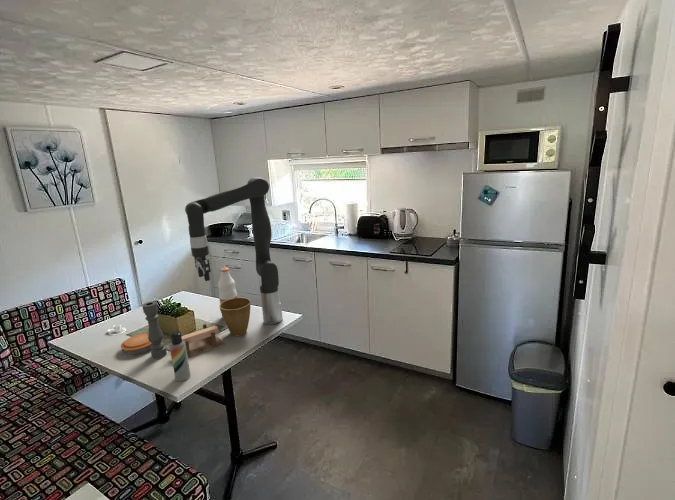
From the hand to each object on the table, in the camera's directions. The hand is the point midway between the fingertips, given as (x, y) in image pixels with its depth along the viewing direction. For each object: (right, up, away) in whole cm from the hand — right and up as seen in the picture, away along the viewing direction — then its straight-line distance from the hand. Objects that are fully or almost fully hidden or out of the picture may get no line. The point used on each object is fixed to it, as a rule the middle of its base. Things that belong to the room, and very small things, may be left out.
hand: (204, 278), depth 171 cm
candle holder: (-17, -34, -8) cm, 39 cm away
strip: (-1, -27, -5) cm, 28 cm away
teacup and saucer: (-54, -29, +21) cm, 65 cm away
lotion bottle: (+1, -38, -26) cm, 46 cm away
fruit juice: (+4, -24, +29) cm, 38 cm away
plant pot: (+14, -28, +9) cm, 33 cm away
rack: (-2, -32, -2) cm, 32 cm away
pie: (-30, -33, 0) cm, 45 cm away
